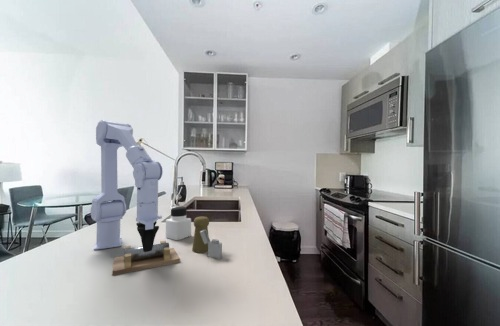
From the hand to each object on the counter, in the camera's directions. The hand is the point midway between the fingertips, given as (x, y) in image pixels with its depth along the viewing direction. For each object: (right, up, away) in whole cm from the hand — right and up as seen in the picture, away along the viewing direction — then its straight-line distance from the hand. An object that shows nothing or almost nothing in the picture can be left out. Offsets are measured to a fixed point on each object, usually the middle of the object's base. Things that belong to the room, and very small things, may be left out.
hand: (147, 248), depth 66 cm
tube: (0, -3, 0) cm, 3 cm away
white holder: (+18, -4, +4) cm, 19 cm away
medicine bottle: (+2, -5, +24) cm, 24 cm away
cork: (+14, -4, +10) cm, 18 cm away
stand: (0, -4, 0) cm, 4 cm away
